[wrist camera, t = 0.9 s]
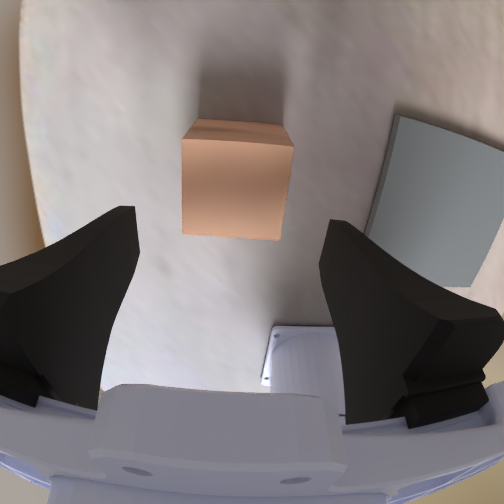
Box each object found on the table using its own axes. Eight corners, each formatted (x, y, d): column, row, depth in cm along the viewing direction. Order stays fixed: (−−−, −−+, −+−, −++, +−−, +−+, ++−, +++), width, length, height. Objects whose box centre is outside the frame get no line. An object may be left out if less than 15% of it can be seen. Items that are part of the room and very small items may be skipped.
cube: (272, 199, 20) (279, 240, 16) (195, 193, 20) (182, 234, 16) (282, 124, 18) (294, 146, 13) (197, 118, 17) (182, 139, 13)
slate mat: (466, 281, 25) (470, 287, 24) (349, 277, 24) (352, 284, 23) (517, 157, 18) (523, 161, 17) (394, 113, 17) (400, 116, 16)
